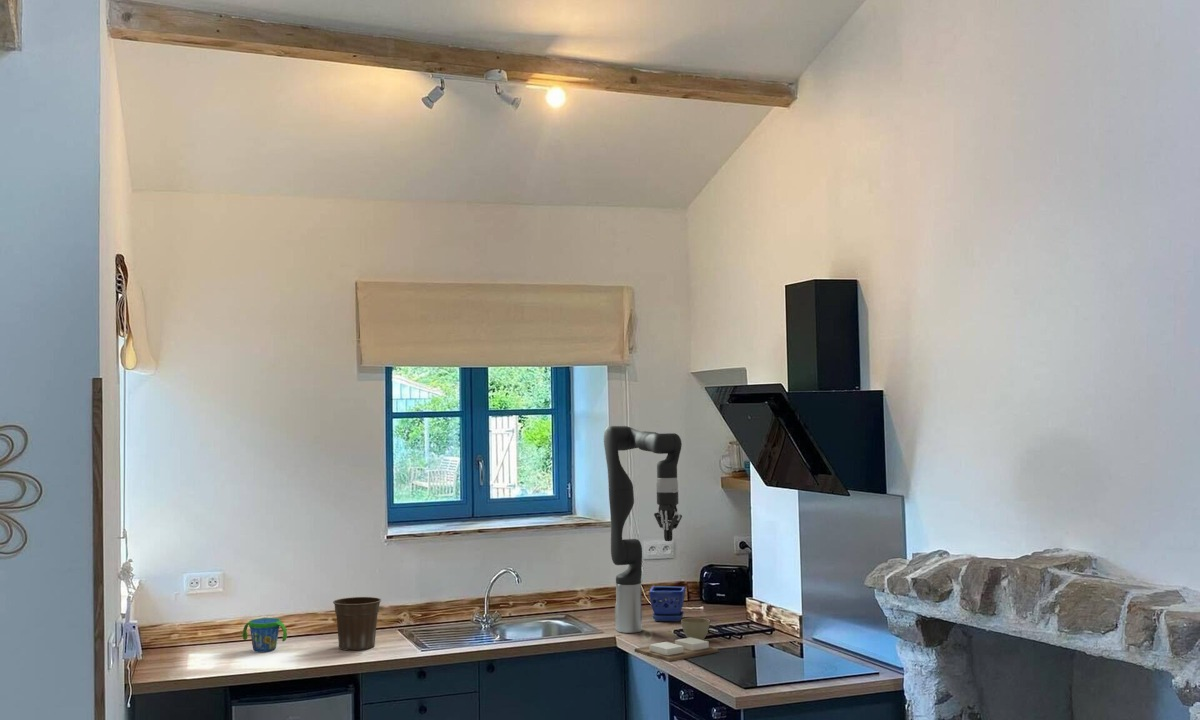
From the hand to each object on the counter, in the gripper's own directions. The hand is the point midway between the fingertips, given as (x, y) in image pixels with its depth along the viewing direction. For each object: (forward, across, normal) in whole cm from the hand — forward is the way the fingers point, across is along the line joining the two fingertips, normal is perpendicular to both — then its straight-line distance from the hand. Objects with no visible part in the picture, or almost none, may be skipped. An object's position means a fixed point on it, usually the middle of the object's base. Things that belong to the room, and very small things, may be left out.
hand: (668, 540), depth 362 cm
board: (+35, +12, -8) cm, 38 cm away
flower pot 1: (+35, -34, +27) cm, 56 cm away
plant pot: (+35, -65, -87) cm, 114 cm away
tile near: (+33, +9, -13) cm, 36 cm away
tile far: (+33, +9, -2) cm, 34 cm away
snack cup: (+35, -81, -114) cm, 144 cm away
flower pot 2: (+35, +3, +9) cm, 36 cm away
